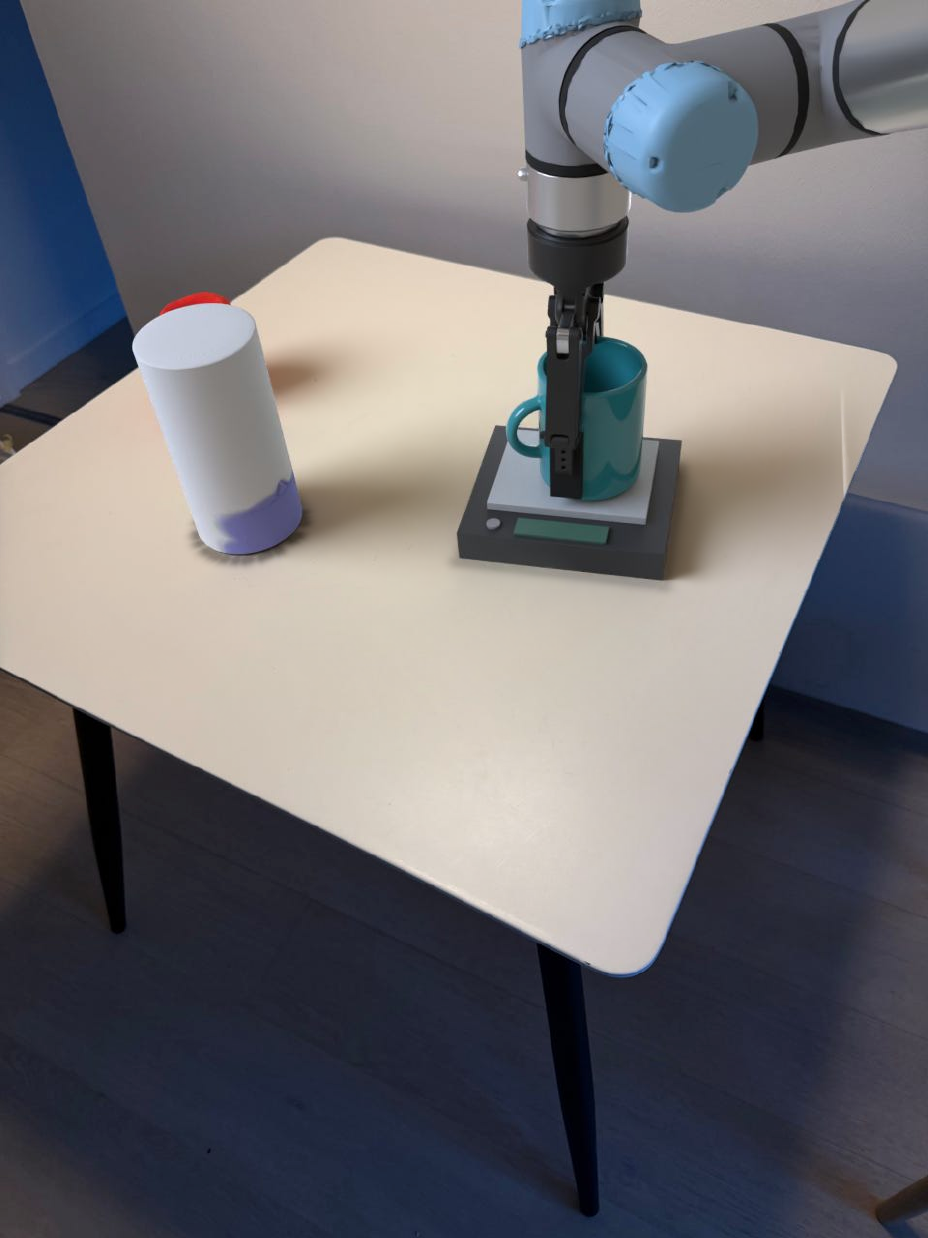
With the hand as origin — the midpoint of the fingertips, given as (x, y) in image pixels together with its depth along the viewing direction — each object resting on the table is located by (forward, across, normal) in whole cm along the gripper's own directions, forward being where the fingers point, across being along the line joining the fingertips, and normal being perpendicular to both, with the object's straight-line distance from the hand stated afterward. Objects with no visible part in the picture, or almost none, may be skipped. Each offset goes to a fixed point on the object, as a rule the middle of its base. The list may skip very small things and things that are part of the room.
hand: (575, 460), depth 89 cm
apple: (+5, -13, -42) cm, 44 cm away
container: (+5, +7, -30) cm, 31 cm away
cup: (+1, +1, 0) cm, 1 cm away
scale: (+5, +1, 0) cm, 5 cm away
